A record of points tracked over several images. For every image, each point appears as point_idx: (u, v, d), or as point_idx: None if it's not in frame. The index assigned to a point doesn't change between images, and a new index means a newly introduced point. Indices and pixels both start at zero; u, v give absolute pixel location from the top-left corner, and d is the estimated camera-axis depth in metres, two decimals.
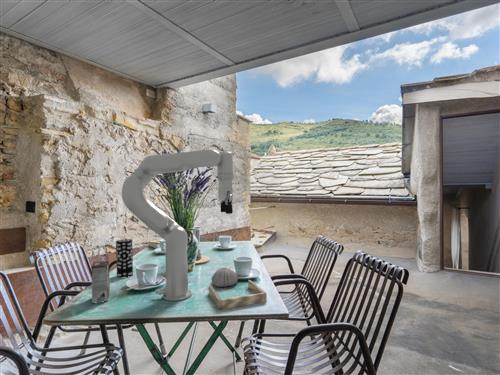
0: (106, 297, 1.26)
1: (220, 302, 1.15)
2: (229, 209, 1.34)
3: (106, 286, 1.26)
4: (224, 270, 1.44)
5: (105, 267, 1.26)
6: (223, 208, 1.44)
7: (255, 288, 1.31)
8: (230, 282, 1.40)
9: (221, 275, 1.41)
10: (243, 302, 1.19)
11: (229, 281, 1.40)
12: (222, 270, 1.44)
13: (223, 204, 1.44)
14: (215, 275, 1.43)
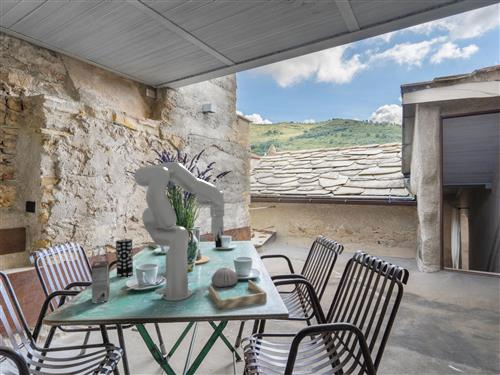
0: (106, 297, 1.26)
1: (220, 302, 1.15)
2: (219, 244, 1.56)
3: (106, 286, 1.26)
4: (224, 270, 1.44)
5: (105, 267, 1.26)
6: None
7: (255, 288, 1.31)
8: (230, 282, 1.40)
9: (221, 275, 1.41)
10: (243, 302, 1.19)
11: (229, 281, 1.40)
12: (222, 270, 1.44)
13: None
14: (215, 275, 1.43)
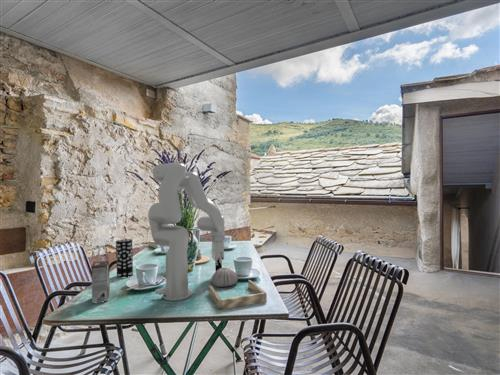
0: (106, 297, 1.26)
1: (220, 302, 1.15)
2: None
3: (106, 286, 1.26)
4: (224, 270, 1.44)
5: (105, 267, 1.26)
6: (218, 268, 1.57)
7: (255, 288, 1.31)
8: (230, 282, 1.40)
9: (221, 275, 1.41)
10: (243, 302, 1.19)
11: (229, 281, 1.40)
12: (222, 270, 1.44)
13: None
14: (215, 275, 1.43)
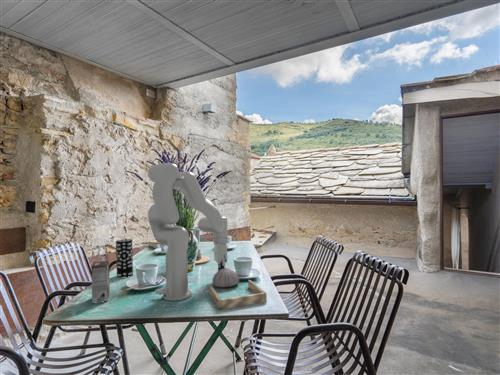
0: (106, 297, 1.26)
1: (220, 302, 1.15)
2: None
3: (106, 286, 1.26)
4: (225, 271, 1.42)
5: (105, 267, 1.26)
6: None
7: (255, 288, 1.31)
8: (231, 283, 1.39)
9: (222, 276, 1.40)
10: (243, 302, 1.19)
11: (230, 282, 1.39)
12: (223, 271, 1.42)
13: None
14: (216, 276, 1.41)
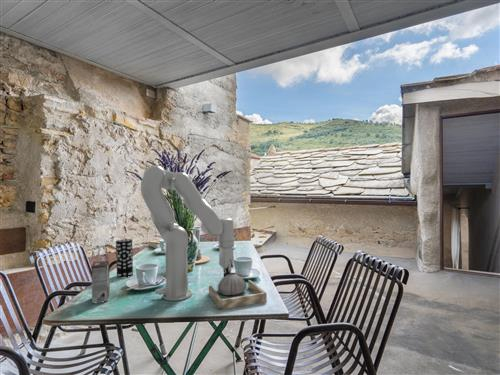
0: (106, 297, 1.26)
1: (220, 302, 1.15)
2: None
3: (106, 286, 1.26)
4: (231, 277, 1.32)
5: (105, 267, 1.26)
6: None
7: (255, 288, 1.31)
8: (238, 290, 1.29)
9: (228, 283, 1.30)
10: (243, 302, 1.19)
11: (237, 289, 1.28)
12: (229, 277, 1.32)
13: None
14: (222, 282, 1.31)
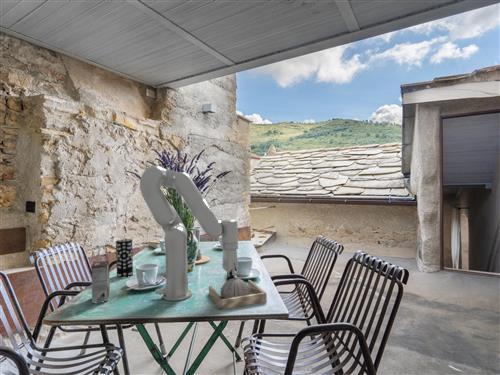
0: (106, 297, 1.26)
1: (220, 302, 1.15)
2: None
3: (106, 286, 1.26)
4: (234, 281, 1.26)
5: (105, 267, 1.26)
6: None
7: (255, 288, 1.31)
8: (241, 295, 1.23)
9: (230, 287, 1.24)
10: (243, 302, 1.19)
11: (240, 294, 1.22)
12: (232, 281, 1.26)
13: None
14: (224, 287, 1.25)
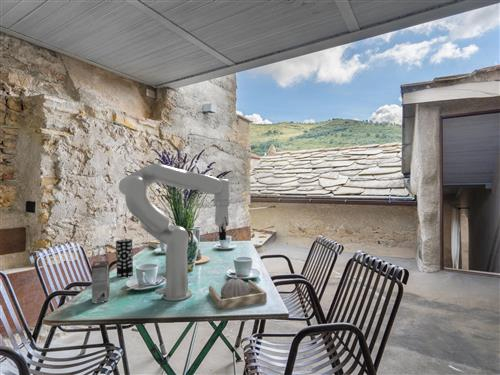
0: (106, 297, 1.26)
1: (220, 302, 1.15)
2: (223, 236, 1.45)
3: (106, 286, 1.26)
4: (235, 281, 1.26)
5: (105, 267, 1.26)
6: None
7: (255, 288, 1.31)
8: None
9: (231, 288, 1.23)
10: (243, 302, 1.19)
11: (240, 295, 1.22)
12: (232, 281, 1.26)
13: None
14: (224, 287, 1.25)
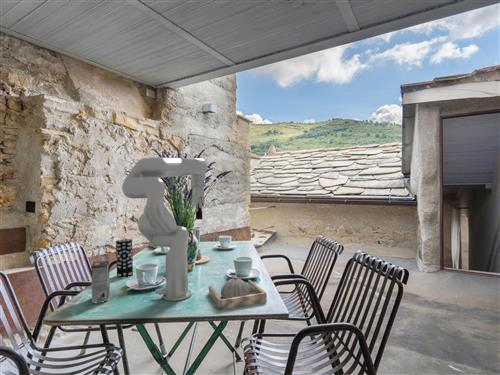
0: (106, 297, 1.26)
1: (220, 302, 1.15)
2: (199, 215, 1.51)
3: (106, 286, 1.26)
4: (235, 281, 1.26)
5: (105, 267, 1.26)
6: None
7: (255, 288, 1.31)
8: None
9: (231, 288, 1.23)
10: (243, 302, 1.19)
11: (240, 295, 1.22)
12: (233, 281, 1.26)
13: None
14: (224, 287, 1.25)
